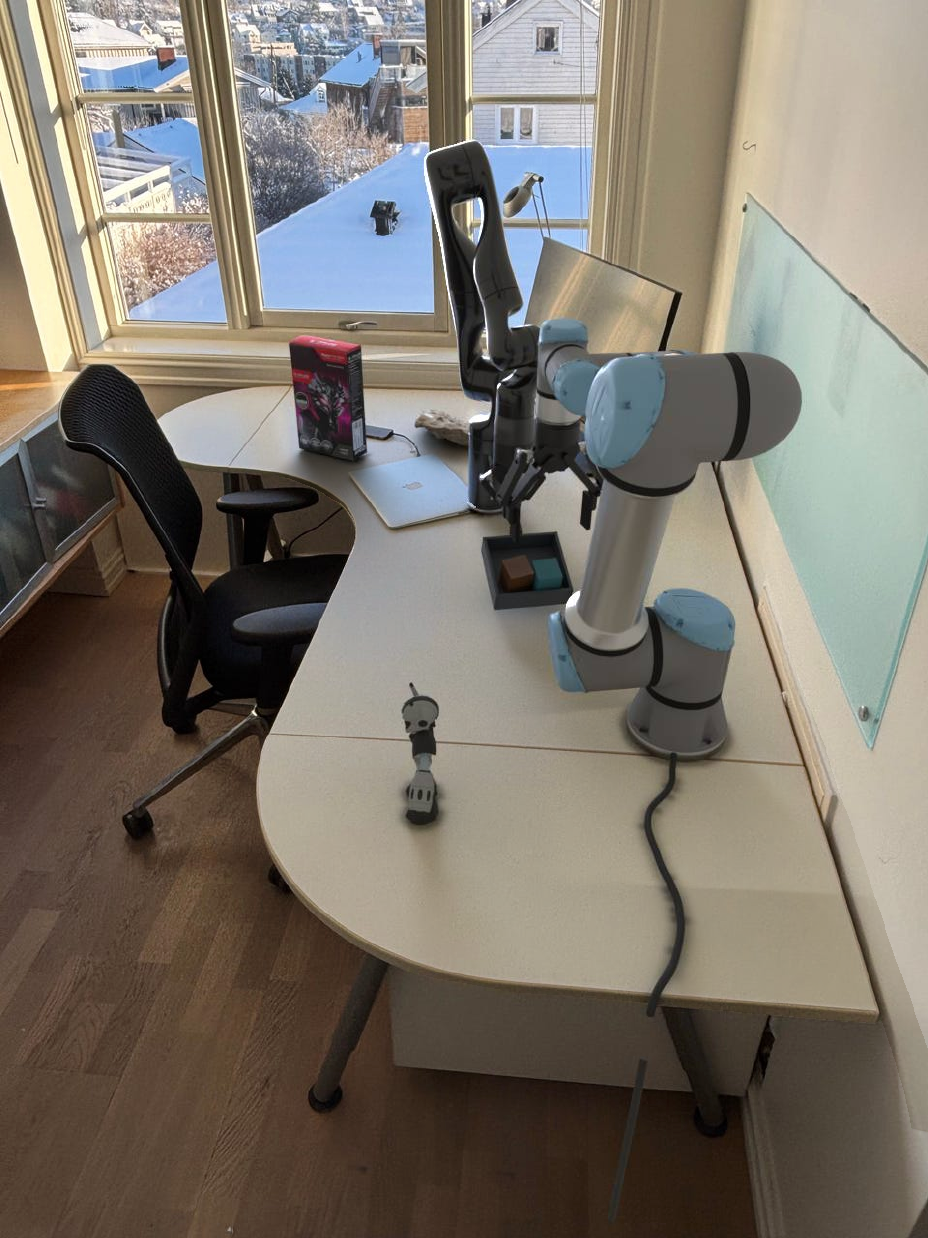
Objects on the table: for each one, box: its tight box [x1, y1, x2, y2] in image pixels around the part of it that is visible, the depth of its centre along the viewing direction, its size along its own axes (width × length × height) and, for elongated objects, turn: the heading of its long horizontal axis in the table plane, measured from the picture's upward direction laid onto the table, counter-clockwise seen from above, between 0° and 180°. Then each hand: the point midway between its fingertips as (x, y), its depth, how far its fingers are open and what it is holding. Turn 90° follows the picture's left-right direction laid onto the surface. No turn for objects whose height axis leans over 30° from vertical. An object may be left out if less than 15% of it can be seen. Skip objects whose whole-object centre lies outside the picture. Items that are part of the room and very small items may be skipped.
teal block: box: [531, 558, 563, 591], centre depth 167 cm, size 4×4×6 cm
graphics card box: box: [288, 334, 368, 462], centre depth 223 cm, size 17×7×27 cm, turn 62°
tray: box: [480, 521, 574, 611], centre depth 173 cm, size 24×14×5 cm, turn 9°
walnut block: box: [499, 555, 534, 593], centre depth 167 cm, size 4×4×6 cm
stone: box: [413, 409, 469, 447], centre depth 236 cm, size 21×15×6 cm
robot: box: [401, 681, 440, 826], centre depth 124 cm, size 20×5×20 cm, turn 3°
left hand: (510, 519), depth 180 cm, fingers closed on tray, 1 cm apart
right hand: (550, 532), depth 162 cm, fingers open, 13 cm apart
